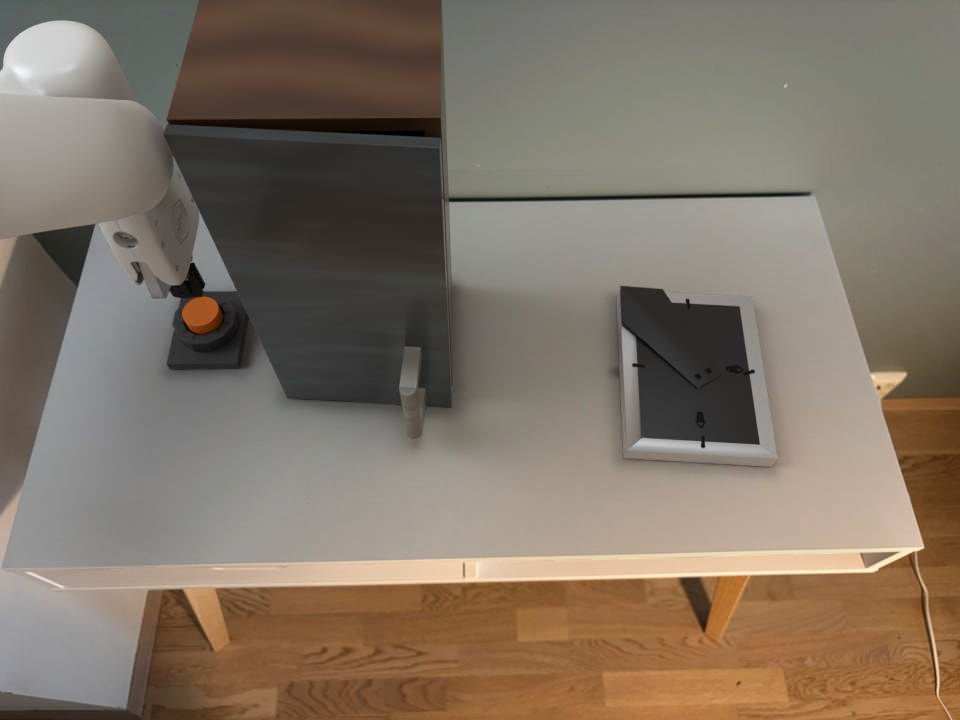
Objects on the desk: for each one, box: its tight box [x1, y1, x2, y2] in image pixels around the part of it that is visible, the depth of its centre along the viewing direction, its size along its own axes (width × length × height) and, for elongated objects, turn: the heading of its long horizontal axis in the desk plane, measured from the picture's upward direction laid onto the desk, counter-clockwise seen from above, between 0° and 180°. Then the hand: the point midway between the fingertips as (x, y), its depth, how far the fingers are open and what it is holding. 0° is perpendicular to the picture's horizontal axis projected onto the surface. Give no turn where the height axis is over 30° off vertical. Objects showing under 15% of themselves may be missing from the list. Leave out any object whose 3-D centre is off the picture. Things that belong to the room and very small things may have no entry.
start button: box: [182, 297, 223, 334], centre depth 83 cm, size 4×4×2 cm
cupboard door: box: [163, 123, 453, 441], centre depth 64 cm, size 6×18×38 cm, turn 87°
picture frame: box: [616, 285, 779, 468], centre depth 82 cm, size 16×3×21 cm
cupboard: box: [165, 0, 454, 387], centre depth 69 cm, size 14×18×38 cm
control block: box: [166, 290, 250, 370], centre depth 85 cm, size 10×8×3 cm
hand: (189, 291), depth 79 cm, fingers closed
